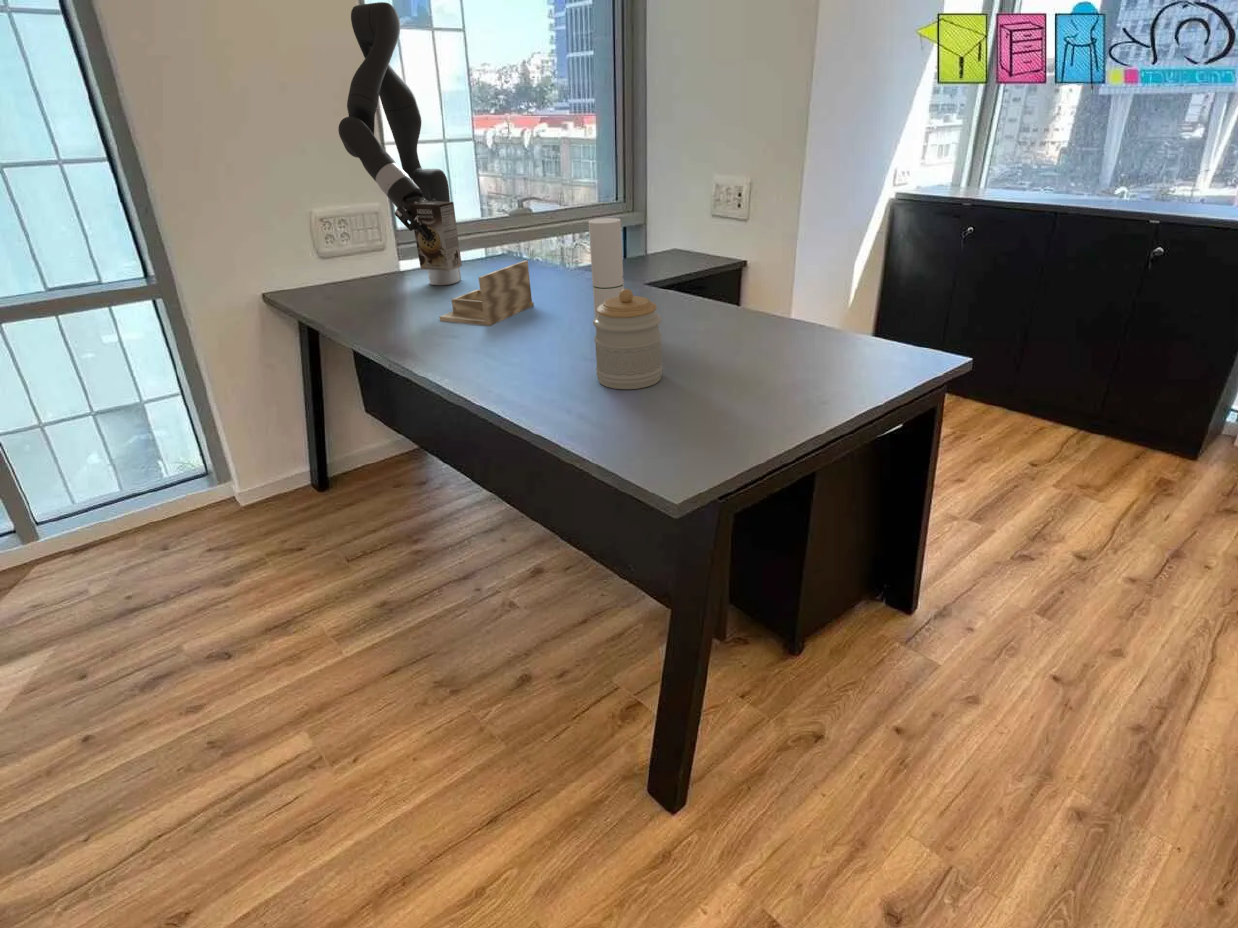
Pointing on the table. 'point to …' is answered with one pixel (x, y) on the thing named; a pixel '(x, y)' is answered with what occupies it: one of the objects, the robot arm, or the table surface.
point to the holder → (494, 297)
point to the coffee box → (437, 236)
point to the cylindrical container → (606, 259)
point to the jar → (628, 342)
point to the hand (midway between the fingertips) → (441, 236)
